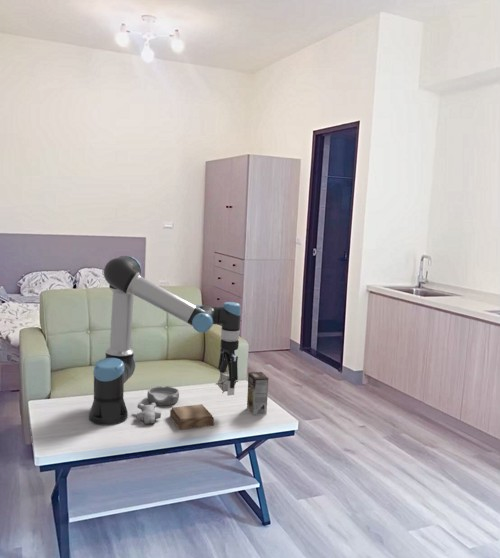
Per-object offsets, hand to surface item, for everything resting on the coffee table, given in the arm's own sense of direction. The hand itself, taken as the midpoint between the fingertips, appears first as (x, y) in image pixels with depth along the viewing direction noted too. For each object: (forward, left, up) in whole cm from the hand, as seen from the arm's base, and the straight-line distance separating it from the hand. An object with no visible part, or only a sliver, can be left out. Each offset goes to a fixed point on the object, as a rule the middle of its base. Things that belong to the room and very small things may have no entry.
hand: (226, 391), depth 228 cm
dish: (-21, +22, -10) cm, 32 cm away
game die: (0, 0, 0) cm, 0 cm away
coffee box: (+14, -2, -10) cm, 17 cm away
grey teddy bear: (-32, +4, -10) cm, 34 cm away
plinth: (-16, -4, -10) cm, 20 cm away
